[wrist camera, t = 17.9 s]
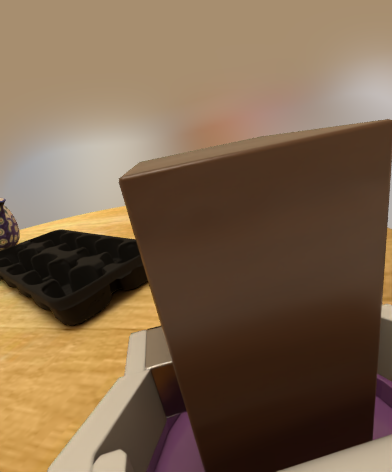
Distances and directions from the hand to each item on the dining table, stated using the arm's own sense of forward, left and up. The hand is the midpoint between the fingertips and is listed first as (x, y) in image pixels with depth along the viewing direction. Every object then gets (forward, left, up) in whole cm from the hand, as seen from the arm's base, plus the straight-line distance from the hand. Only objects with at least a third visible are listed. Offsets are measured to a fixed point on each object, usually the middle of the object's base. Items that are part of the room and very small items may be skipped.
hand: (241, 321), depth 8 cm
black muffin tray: (+32, -8, -8) cm, 34 cm away
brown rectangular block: (-1, +1, -8) cm, 8 cm away
